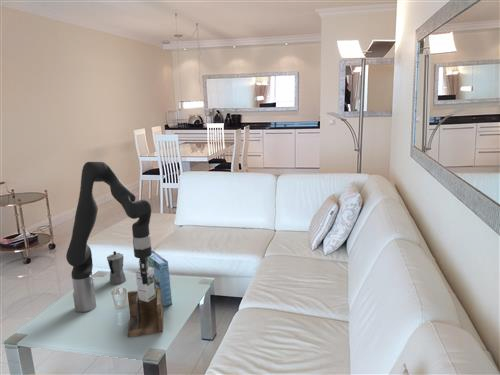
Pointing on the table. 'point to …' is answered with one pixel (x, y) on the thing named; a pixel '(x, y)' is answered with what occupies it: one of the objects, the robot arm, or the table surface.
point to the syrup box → (146, 285)
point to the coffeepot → (116, 268)
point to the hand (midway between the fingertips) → (145, 279)
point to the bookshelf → (145, 315)
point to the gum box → (161, 277)
